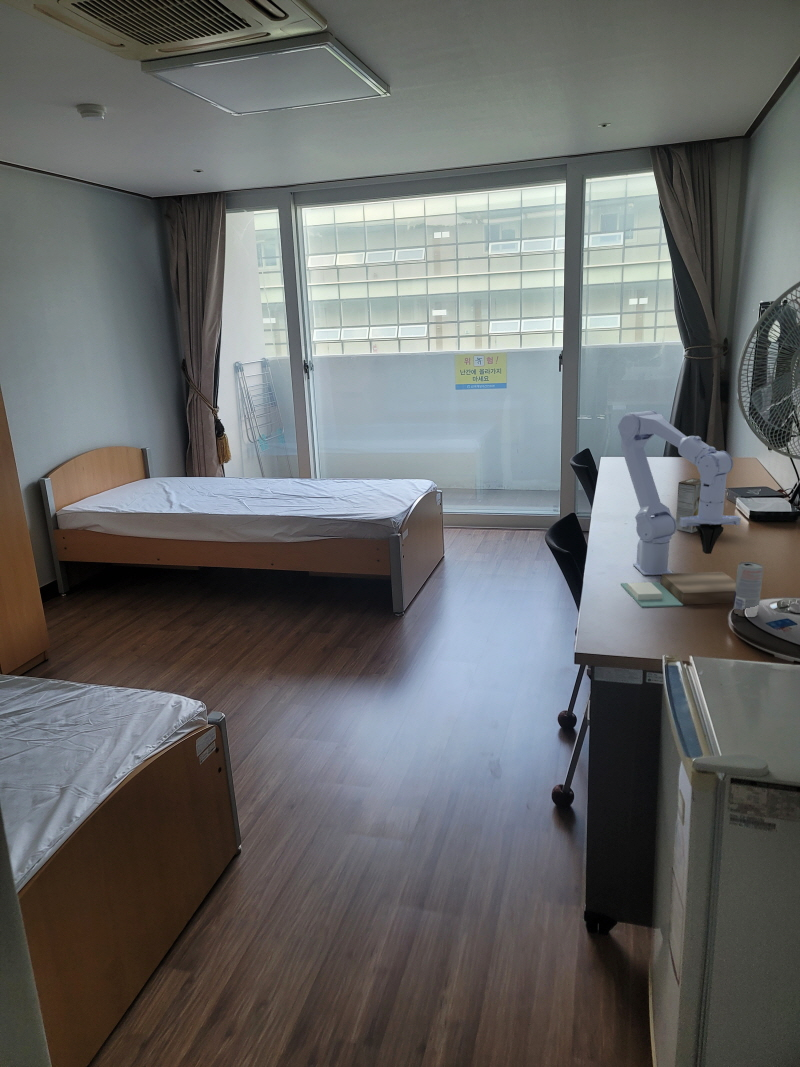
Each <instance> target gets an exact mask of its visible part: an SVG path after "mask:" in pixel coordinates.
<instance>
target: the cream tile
mask: <svg viewBox="0 0 800 1067" xmlns="http://www.w3.org/2000/svg"><path fill="white" fill-rule="evenodd" d="M626 583H627V589H628V590H629V591H630V592H631V593H632V594H633V595H634V597H635V598H636V599H637V600H652V599H662V593H661V592H660V591H659V590H658V589H657V588H656V587H655V586H654V585H653V584H652V583H651V581H647V583H644V582H626Z"/></svg>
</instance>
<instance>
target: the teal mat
mask: <svg viewBox="0 0 800 1067" xmlns="http://www.w3.org/2000/svg"><path fill="white" fill-rule="evenodd" d="M647 582H648V581H647ZM647 582H646V581H645V582H643V583H647ZM650 582H651V581H650ZM627 583H628V582H621V583H620V586H621V587H622V588H623V589H624V590H625V592H626V593H628V594H629V595H630V597H633V598H632V600H634V601H635V602H636V603H637V604H638V605H639V607H641V608H662V607H663V608H665V607H667V608H668V607H669V608H670V607H683V606H684V604H682V603H681V602H680V601H679V600H678V599H676V598H675V597H674V596H673V595H672V594H671V593H670V592H669V591H668V590H667V589H666V588H665V587H663V586H662V585H661V582H660V581H652V582H651V583H652V584H653V585H654V586H655V587H656V588H657V589H658V590H659V591H660V592H661V593H662V599H652V600H637V599H636V598H635V597H634V595H633V594H632V593H631V592H630V591H629V590H628V589H627Z"/></svg>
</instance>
